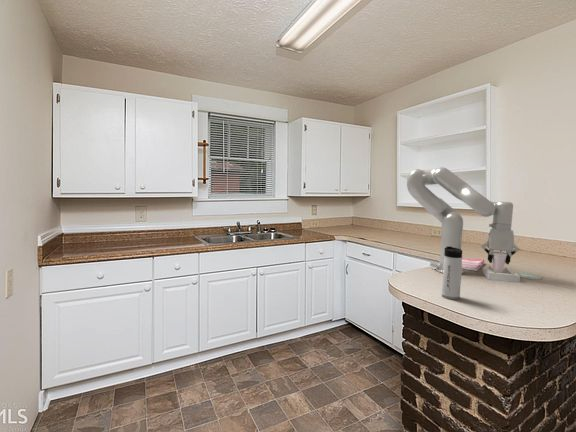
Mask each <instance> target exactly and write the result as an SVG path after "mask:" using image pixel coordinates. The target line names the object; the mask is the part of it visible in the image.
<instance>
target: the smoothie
mask: <svg viewBox="0 0 576 432" xmlns="http://www.w3.org/2000/svg"><path fill="white" fill-rule="evenodd" d="M492 255H493V257H492V268H493V272H494V271H496V273H502V272H503V269H505V265H506V263H505V260H506V256H507V253H506V252H505V251H500V250H499V251H493V252H492Z"/></svg>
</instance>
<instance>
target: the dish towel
mask: <svg viewBox="0 0 576 432" xmlns="http://www.w3.org/2000/svg"><path fill="white" fill-rule="evenodd" d="M484 263H485V259H484V258H480V259H476V258H475V259H474V258H473V259H470V258H463V257H462V269H461V270H466V271H471V272H472V271H473V272H478V271H479V269H480V268H482V267H483V266H484Z"/></svg>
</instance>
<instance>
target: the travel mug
mask: <svg viewBox="0 0 576 432" xmlns="http://www.w3.org/2000/svg"><path fill="white" fill-rule="evenodd" d="M444 253H445V254H444V267H443V273H442V288H441V289H442V291H441V292H442V293H441V295H442V298H444V299H447V300H451V299H452V301H457V300H460V298H461V282H462V274H461V270H463V269H462V258H463V250H462V248H461V249H458V248H454V247H451V246H447V247H446V248H445V252H444Z"/></svg>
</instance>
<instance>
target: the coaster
mask: <svg viewBox="0 0 576 432" xmlns="http://www.w3.org/2000/svg"><path fill="white" fill-rule="evenodd" d="M516 273H517V274H518V275H519V276H520V278H523V279H527V280H528V279H529V280H542V278H543V277H542V276H541V275H539V274H536V273H530V272H516Z"/></svg>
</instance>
